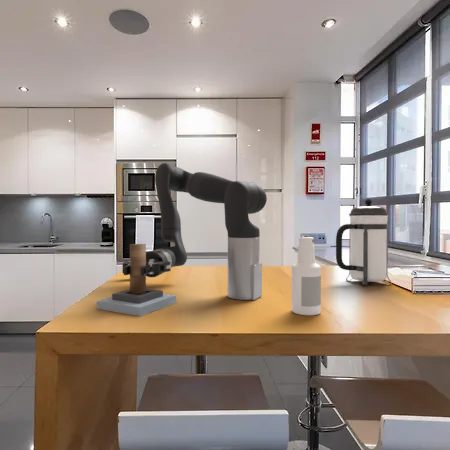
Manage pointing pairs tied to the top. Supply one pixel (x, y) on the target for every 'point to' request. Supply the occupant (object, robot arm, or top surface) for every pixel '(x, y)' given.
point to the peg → (137, 269)
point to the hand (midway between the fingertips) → (133, 271)
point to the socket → (136, 302)
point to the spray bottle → (306, 280)
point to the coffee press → (366, 244)
